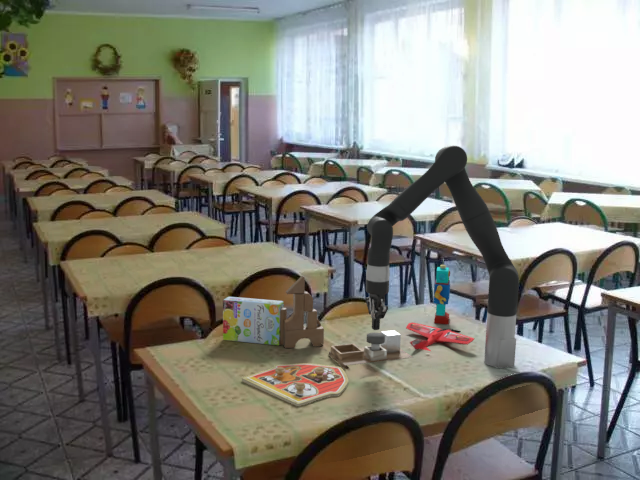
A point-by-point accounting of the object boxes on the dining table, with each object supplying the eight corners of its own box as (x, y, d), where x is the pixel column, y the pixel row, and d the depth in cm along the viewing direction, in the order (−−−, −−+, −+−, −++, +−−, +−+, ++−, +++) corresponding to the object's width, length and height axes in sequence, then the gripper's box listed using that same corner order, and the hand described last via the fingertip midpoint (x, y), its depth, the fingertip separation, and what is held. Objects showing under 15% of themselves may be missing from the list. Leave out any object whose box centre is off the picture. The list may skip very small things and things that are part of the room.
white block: (400, 351, 253) (400, 334, 252) (386, 352, 252) (387, 335, 250) (393, 346, 258) (394, 330, 257) (380, 348, 256) (380, 331, 255)
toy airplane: (484, 345, 266) (485, 331, 265) (449, 365, 244) (450, 351, 244) (418, 330, 282) (419, 317, 281) (379, 348, 260) (380, 334, 259)
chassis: (412, 360, 248) (413, 348, 247) (344, 368, 239) (345, 356, 239) (394, 347, 261) (394, 335, 260) (328, 354, 252) (329, 342, 251)
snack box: (284, 341, 265) (284, 300, 262) (279, 346, 260) (279, 304, 257) (228, 335, 270) (227, 295, 268) (222, 340, 265) (221, 299, 262)
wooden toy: (319, 340, 267) (320, 271, 262) (323, 346, 261) (325, 276, 256) (276, 342, 264) (277, 273, 259) (279, 348, 257) (280, 277, 252)
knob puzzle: (237, 381, 229) (237, 367, 228) (307, 359, 249) (308, 346, 248) (303, 411, 208) (303, 395, 207) (373, 384, 229) (374, 370, 228)
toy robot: (448, 325, 287) (451, 262, 283) (432, 324, 288) (435, 261, 284) (449, 317, 298) (452, 256, 294) (433, 316, 299) (436, 255, 295)
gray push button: (387, 351, 245) (388, 337, 244) (370, 353, 243) (371, 339, 242) (379, 346, 251) (380, 331, 250) (363, 348, 248) (363, 333, 248)
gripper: (397, 282, 238) (394, 334, 241) (379, 272, 250) (377, 322, 253) (375, 283, 235) (373, 336, 238) (359, 274, 247) (357, 324, 250)
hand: (375, 329), depth 246 cm, fingers closed
